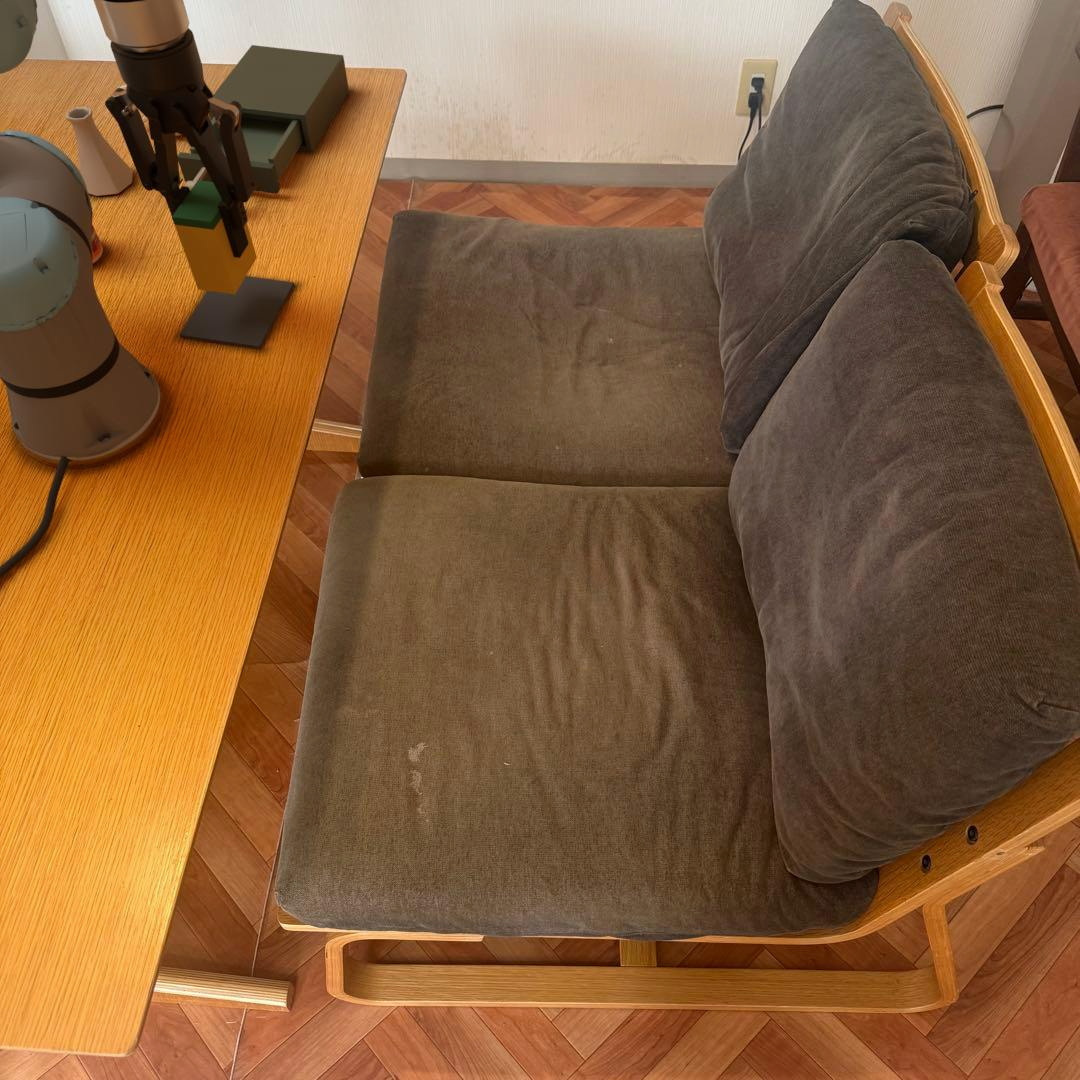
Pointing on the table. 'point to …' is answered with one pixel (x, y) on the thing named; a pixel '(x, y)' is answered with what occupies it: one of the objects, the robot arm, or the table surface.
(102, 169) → the flask
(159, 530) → the table surface
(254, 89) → the cabinet
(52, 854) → the table surface
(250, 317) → the mat
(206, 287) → the sponge
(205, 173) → the drawer
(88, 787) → the table surface
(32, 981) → the table surface
